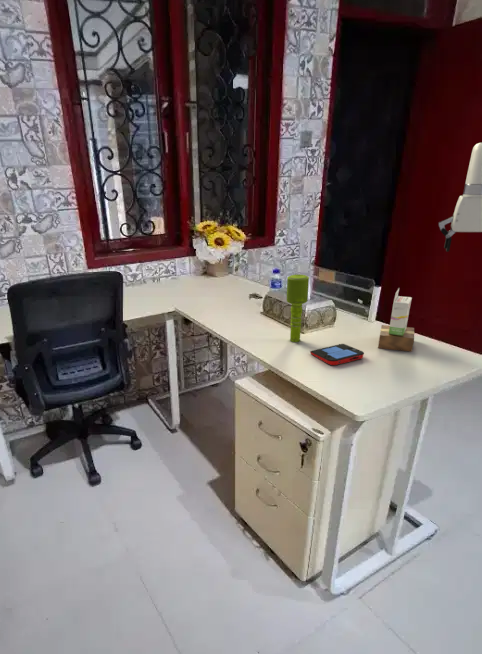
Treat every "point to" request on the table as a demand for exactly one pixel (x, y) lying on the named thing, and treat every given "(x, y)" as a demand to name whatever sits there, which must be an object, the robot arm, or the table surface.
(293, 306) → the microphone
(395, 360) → the table surface
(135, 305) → the table surface
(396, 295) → the ink box
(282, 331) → the table surface
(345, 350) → the game console
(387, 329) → the cardboard box
